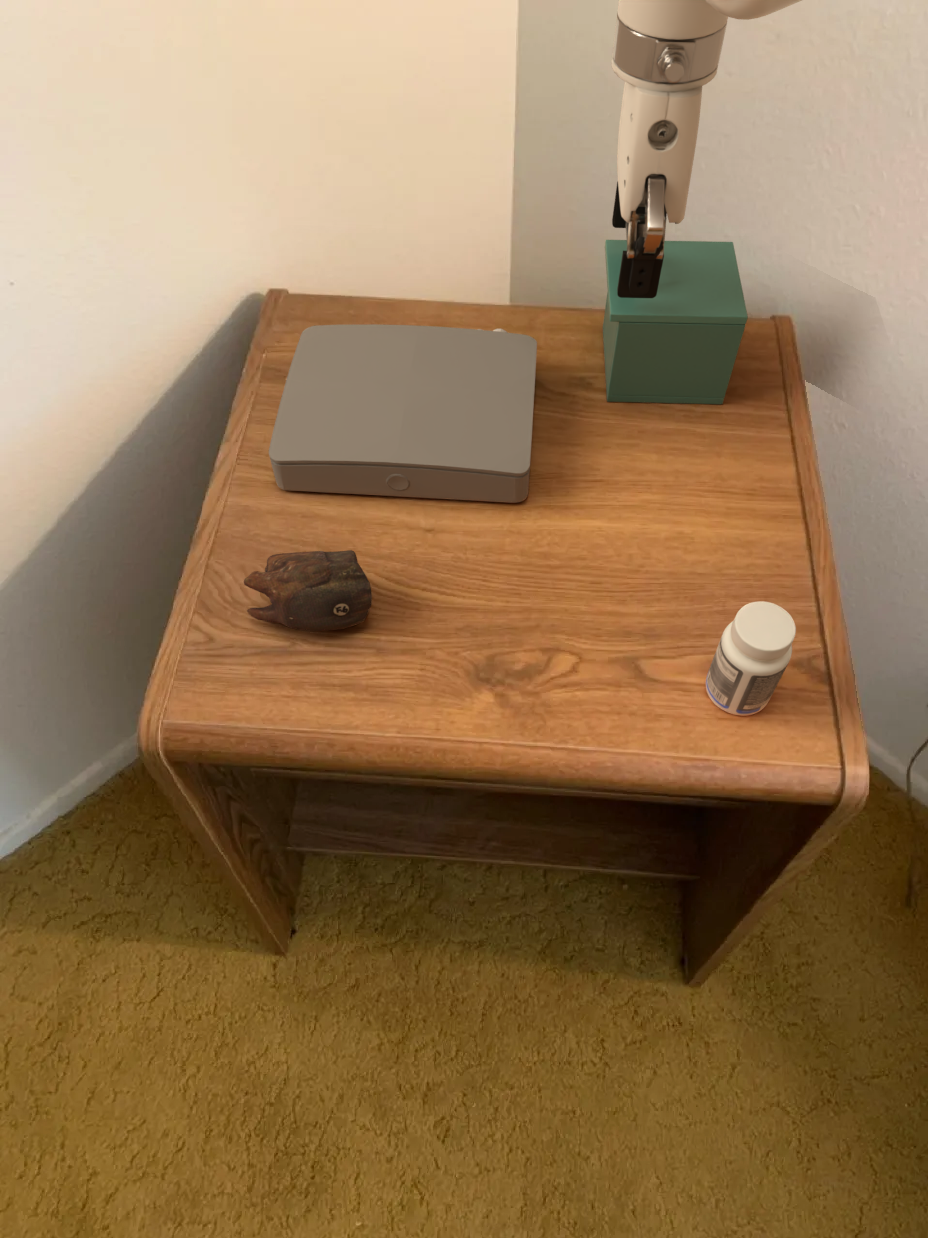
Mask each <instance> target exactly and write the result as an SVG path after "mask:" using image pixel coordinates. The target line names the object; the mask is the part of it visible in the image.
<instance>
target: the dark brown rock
mask: <svg viewBox="0 0 928 1238" xmlns="http://www.w3.org/2000/svg"><path fill="white" fill-rule="evenodd" d="M358 561H359V560H358V556H357V554H356V552H355V551H354V550H352V549H348V550H339V551H324V550H318V551H317V550H315V551H296V552H283V553H275V554H272V555H270V556H269V557H267V559H266V565H265V568H264V571H258V570H253V571H252V572H251V573H250V574H249V575H248V576H246V577H245V578H244V579H243V584H244V586H246V587H247V588H249V589H252V590H254V591H256V592H259V593H261V594H263V595H264V596H266V597H267V598H269V601H270V603H271V604H269V605H267V606H261V607H250V608H248V609H247V610H246V611H247V614H248V615H249V616H250V617H252V618H254V619H256V620H258V621H262V622H268V623H274V624H282V625H284V626H286V627H288V628H289V629H294V630H298V631H307V632H326V631H327V632H328V631H335V630H344V629H346V628H350V627H353V626H356V625H359V624H362V623H363V622H365V620H366V619H367V617H368V615H369V612H370V608H371V606H372V603H373V594H372V593H373V592H372V587H371V582H370V581H369V579H368V576H367V574H366V573H365V572H364V570H363V568H362V567H361V565H360V563H359V562H358Z"/></svg>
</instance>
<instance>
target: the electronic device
mask: <svg viewBox="0 0 928 1238" xmlns="http://www.w3.org/2000/svg"><path fill="white" fill-rule="evenodd" d="M294 351H295V352H294V354H293V356H292V360H291V363H290V366H289V369H288V373H287V376H286V379H285V383H284V387H283V392H282V395H281V398H280V402H279V405H278V410H277V414H276V417H275V422H274V426H273V428H272V429H273V430H272V434H271V439H270V443H269V447H268V456H269V460H270V464H271V467H272V468H271V469H272V472H273V475H274V479H275V483H276V485H277V487H278V488H279V489H280V490H284V491H293V492H313V493H314V492H315V493H330V494H332V493H333V494H350V495H351V494H352V495H368V496H385V497H386V496H387V497H404V498H419V499H420V498H421V499H438V500H439V499H440V500H458V501H459V500H460V501H462V500H463V501H476V502H477V501H478V502H492V503H493V502H494V503H511V504H513V503H516V504H517V503H522V502H523V501H524V500H526V499H527V497H528V496H529V486H530V485H529V484H530V472H531V471H530V470H531V456H532V455H531V454H532V439H533V421H534V406H535V405H534V402H535V388H536V387H535V386H536V370H537V354H538V353H537V352H538V341H537V340H536V339H535V338H534V337H532V336H530V335H528V334H522V333H516V332H515V333H514V332H508V331H506V330H505V329H503V328H495V329H493V330H486V329H482V328H478V329H475V328H466V327H465V328H464V327H451V326H450V327H448V326H435V325H433V326H432V325H416V324H415V325H413V324H379V323H378V324H376V323H375V324H374V323H373V324H372V323H371V324H321V325H319V324H318V325H311V326H308V327H307V328H305V329H304V330H303V331H302V332H301V334H300V336H299V340H298V342H297V345H296V348H295V350H294Z"/></svg>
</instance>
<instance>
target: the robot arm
mask: <svg viewBox="0 0 928 1238" xmlns="http://www.w3.org/2000/svg"><path fill="white" fill-rule="evenodd" d="M801 1H802V2H803V0H618V4H617V11H616V20H615V27H614V30H615V31H614V37H613V45H612V46H613V47H612V56H611V62H610V63H611V64H610V65H611V69H612V71H613V73H614V74H616V76H617V77H618V78H619V79H621V80H622V81H623V82H624V85H623V90H622V91H623V92H622V98H621V99H622V100H621V108H620V115H619V116H620V117H619V124H618V136H617V149H616V151H617V152H616V156H617V157H616V172H617V173H616V174H617V182H616V188H615V197H614V203H613V210H612V218H611V225H612V227H613V228H614V229H626V227H625V224H626V222H628V223H629V226H628V241H627V251H623V254H622V261H621V267H620V274H619V281H618V287H617V295H618V296H619V297H621V298H654V297H655V296H656V295H657V290H658V285H659V279H660V274H661V269H662V264H663V259H664V242H665V241H666V227H667V220H668V223H669V224H671V223H673V224H675V225H679V224H680V223H682V222H683V220H684V219H685V216H686V210H687V209H686V208H687V203H688V197H689V191H690V184H691V180H692V179H691V177H692V171H693V165H694V159H695V153H696V147H697V140H698V133H699V127H700V126H699V125H700V117H701V107H702V98H703V97H702V96H703V86H705V85H707V84H708V83H710V82H712V80H714V79H715V77H716V75H717V73H718V69H719V63H720V60H721V59H720V58H721V54H722V50H723V45H724V40H725V34H726V30H727V27H728V19H729V18H731V19H735V20H743V21H744V20H747V21H748V20H755V19H760V18H762V17H766V16H769V15H771V14H773V13H776V12H778V11H780V10H783V9H785V8H787V7H790V6H793V5H795V4H797V3H799V2H801ZM637 224H645V228H644V232H643V237H639V238H638V239H637V241H636V232H637Z"/></svg>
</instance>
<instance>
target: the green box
mask: <svg viewBox="0 0 928 1238" xmlns="http://www.w3.org/2000/svg"><path fill="white" fill-rule="evenodd" d="M605 300H606V301H605V307H604V314H603V322H602V339H603V340H602V342H603V358H604V376H605V392H606V393H605V394H606V402H607V403H609V402H611V403H644V404H645V403H647V404H648V403H649V404H650V403H651V404H652V403H653V404H689V405H691V404H693V405H724V401H725V397H726V394H727V390H728V387H729V384H730V380H731V376H732V373H733V369H734V366H735V363H736V359H737V356H738V353H739V349H740V345H741V342H742V339H743V335H744V332H745V328H746V324H701V323H654V322H610V320H609V305H608V290H607V292H606V299H605Z"/></svg>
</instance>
